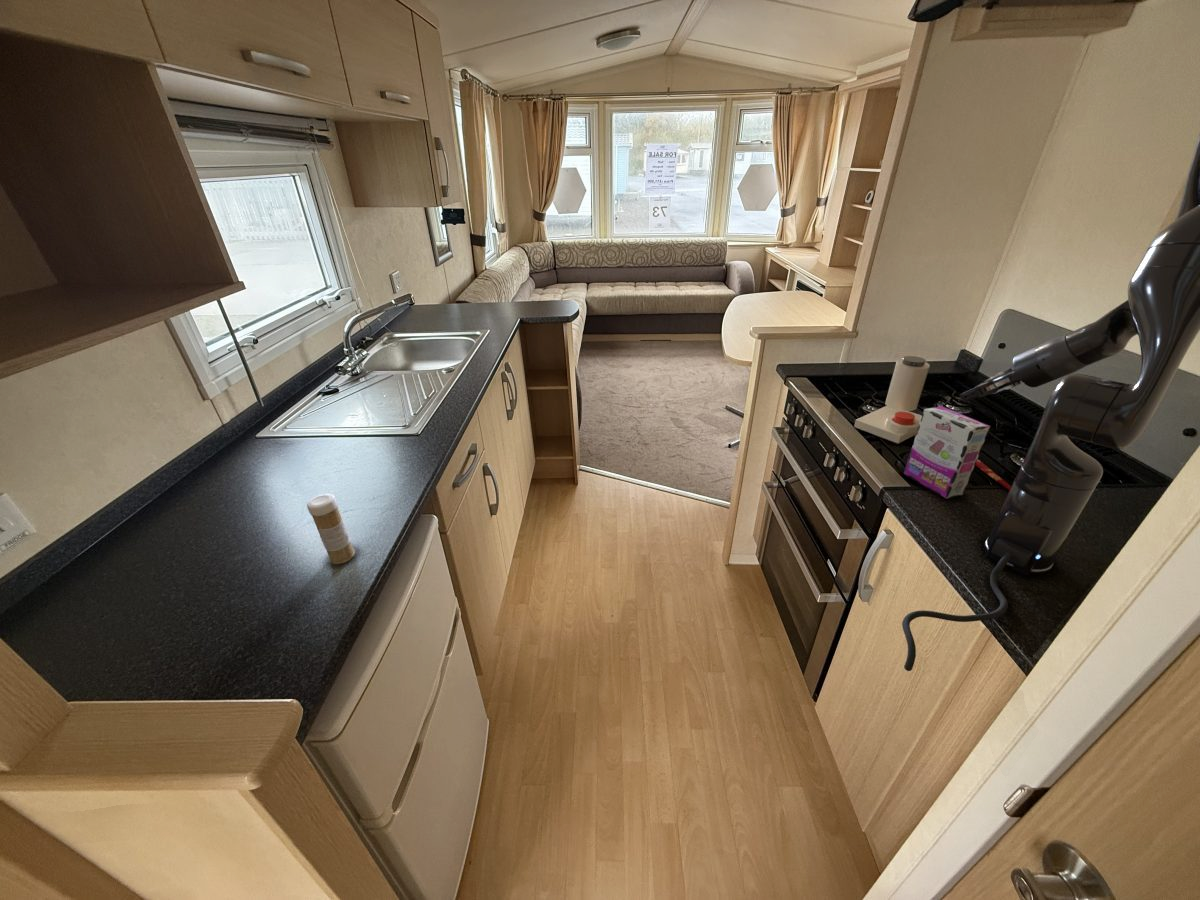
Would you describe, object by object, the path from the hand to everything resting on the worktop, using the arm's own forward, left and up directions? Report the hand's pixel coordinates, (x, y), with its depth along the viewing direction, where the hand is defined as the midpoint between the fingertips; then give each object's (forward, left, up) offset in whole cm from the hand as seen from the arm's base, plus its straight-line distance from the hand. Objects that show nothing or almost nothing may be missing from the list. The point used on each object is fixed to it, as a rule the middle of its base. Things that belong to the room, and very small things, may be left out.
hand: (962, 398), depth 111 cm
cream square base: (+3, +14, -14) cm, 20 cm away
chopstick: (-3, -11, -14) cm, 18 cm away
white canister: (+9, +16, -10) cm, 21 cm away
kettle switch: (0, +11, -10) cm, 15 cm away
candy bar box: (-17, -6, -14) cm, 23 cm away
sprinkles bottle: (-130, +46, -14) cm, 139 cm away
